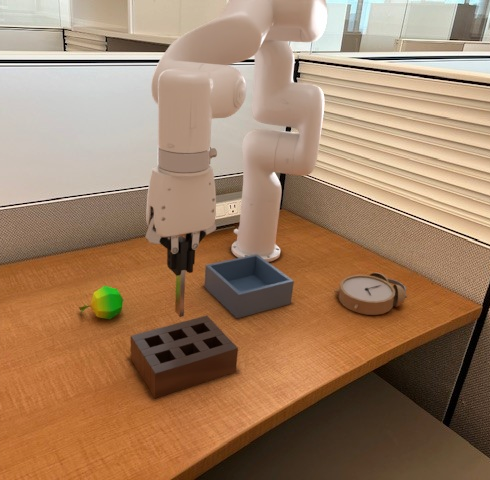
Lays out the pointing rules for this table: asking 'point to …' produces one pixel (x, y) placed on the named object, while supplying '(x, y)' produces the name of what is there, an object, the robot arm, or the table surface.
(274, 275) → the bin
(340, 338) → the table surface
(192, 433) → the table surface
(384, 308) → the alarm clock
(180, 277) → the knife
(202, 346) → the block
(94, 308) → the apple
